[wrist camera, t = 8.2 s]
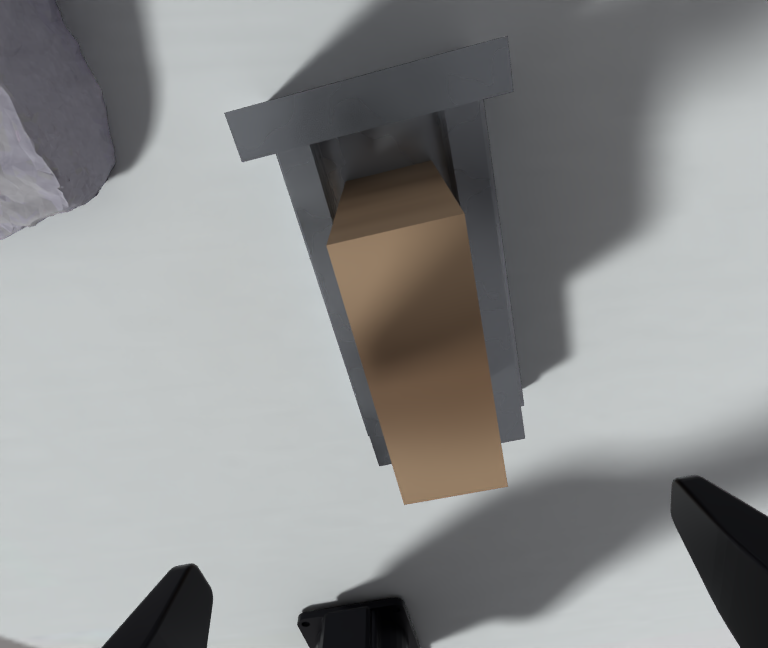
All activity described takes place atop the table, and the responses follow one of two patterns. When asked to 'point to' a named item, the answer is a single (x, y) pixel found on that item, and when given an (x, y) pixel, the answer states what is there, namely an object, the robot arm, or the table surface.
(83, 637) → the table surface
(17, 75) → the stone block
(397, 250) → the brown wooden block
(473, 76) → the floor track
